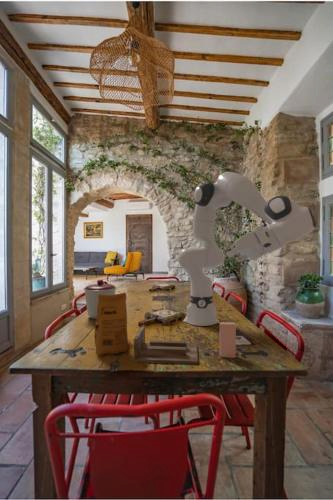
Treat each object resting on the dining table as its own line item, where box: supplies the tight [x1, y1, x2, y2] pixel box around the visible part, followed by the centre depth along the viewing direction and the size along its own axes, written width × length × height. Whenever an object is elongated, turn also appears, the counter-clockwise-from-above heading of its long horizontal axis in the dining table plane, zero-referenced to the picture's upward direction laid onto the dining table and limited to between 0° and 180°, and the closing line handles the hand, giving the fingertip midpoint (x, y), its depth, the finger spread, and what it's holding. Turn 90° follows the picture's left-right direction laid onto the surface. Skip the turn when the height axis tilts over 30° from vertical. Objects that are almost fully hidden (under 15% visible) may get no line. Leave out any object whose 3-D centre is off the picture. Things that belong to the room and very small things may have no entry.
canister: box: [83, 279, 117, 320], centre depth 156 cm, size 18×18×21 cm
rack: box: [133, 325, 199, 365], centre depth 103 cm, size 16×22×8 cm
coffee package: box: [94, 292, 129, 356], centre depth 107 cm, size 10×12×22 cm
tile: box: [219, 321, 237, 359], centre depth 101 cm, size 2×6×12 cm, turn 85°
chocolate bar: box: [218, 329, 255, 346], centre depth 122 cm, size 9×1×18 cm
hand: (232, 257), depth 102 cm, fingers open, 8 cm apart
